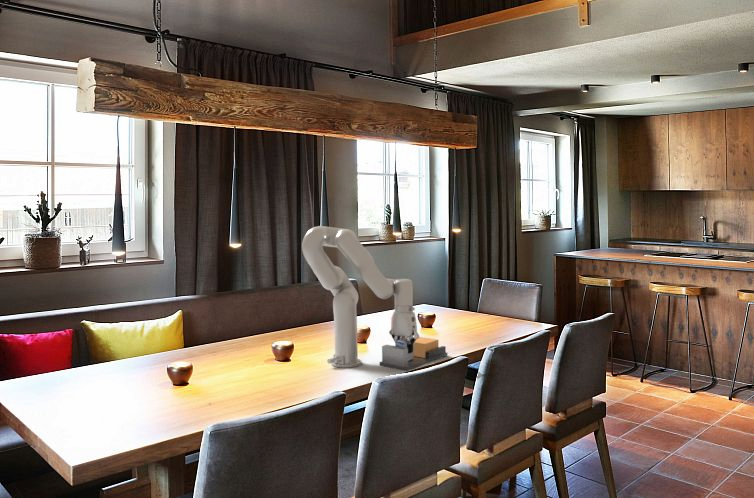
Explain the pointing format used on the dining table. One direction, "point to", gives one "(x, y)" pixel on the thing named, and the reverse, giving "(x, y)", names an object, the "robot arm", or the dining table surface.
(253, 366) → the dining table surface
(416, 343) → the orange square block
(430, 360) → the grey stepped stand
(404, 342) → the medicine box
